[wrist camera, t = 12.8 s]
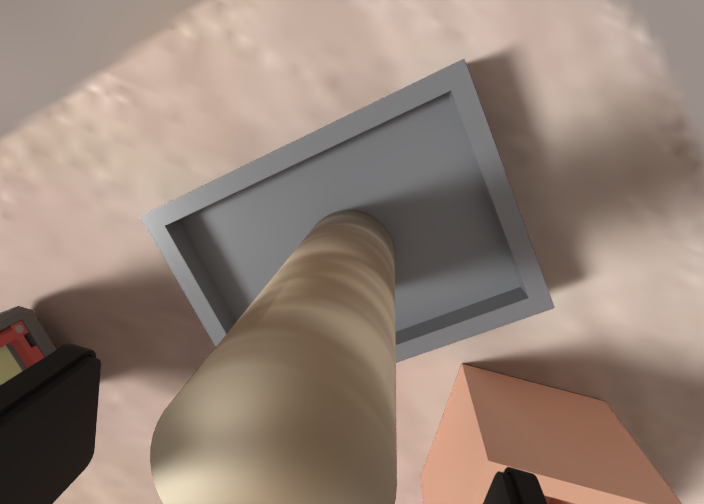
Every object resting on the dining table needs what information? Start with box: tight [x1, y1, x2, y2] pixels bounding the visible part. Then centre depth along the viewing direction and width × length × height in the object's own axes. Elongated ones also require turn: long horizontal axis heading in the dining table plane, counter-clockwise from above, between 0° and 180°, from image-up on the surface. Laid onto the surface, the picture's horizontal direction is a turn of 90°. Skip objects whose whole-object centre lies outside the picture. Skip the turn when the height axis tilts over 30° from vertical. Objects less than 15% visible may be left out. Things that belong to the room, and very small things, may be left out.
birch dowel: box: [150, 210, 397, 504], centre depth 16 cm, size 5×5×16 cm
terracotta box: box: [421, 364, 682, 504], centre depth 24 cm, size 9×9×8 cm
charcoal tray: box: [140, 59, 554, 363], centre depth 24 cm, size 18×13×3 cm
